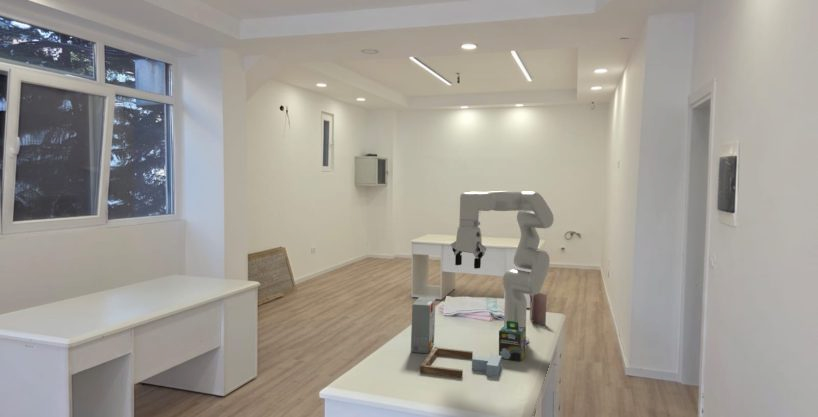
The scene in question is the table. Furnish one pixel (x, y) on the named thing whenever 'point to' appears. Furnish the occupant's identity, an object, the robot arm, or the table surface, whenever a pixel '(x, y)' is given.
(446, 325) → the table surface
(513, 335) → the chalk box
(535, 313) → the greeting card
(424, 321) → the hard drive box
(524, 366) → the table surface
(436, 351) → the walnut bay
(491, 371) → the tee block
